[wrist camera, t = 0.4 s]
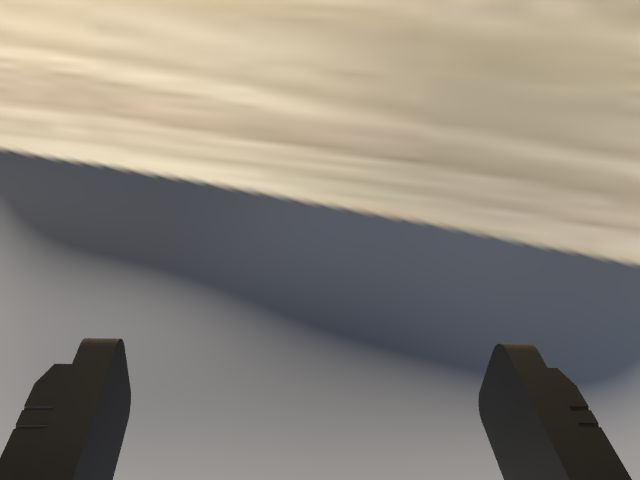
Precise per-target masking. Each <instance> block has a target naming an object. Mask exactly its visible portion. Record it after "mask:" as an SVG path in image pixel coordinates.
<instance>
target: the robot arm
mask: <svg viewBox="0 0 640 480" xmlns="http://www.w3.org/2000/svg"><path fill="white" fill-rule="evenodd" d="M130 404H131V390H130V382H129V376H128V368H127V361H126V354H125V347H124V342H123V340H122V339H92V338H91V339H90V338H88V339H86V338H85V339H83V341H82V342H81V344H80V346H79V348H78V351H77V354H76V356H75V358H74V361H73V363H72V364H54V365H53V366H52V367H51V368H50V369H49V370H48V371H47V372H46V373H45V374H44V375H43V376H42V377H41V378H40V379H39V380H38V381H37V382H36V383H35V384H34V386H33V389H32V391H31V393H30V395H29V397H28V399H27V401H26V403H25V408H24V410H22V412H21V414H20V416H19V419H18V421H17V423H16V429H14V430H13V432H12V434H11V436H10V438H9V440H8V442H7V445H6V447H5V449H4V451H3V453H2V455H1V458H0V480H113V476H114V472H115V468H116V465H117V461H118V457H119V453H120V450H121V446H122V442H123V438H124V434H125V430H126V427H127V422H128V418H129V413H130ZM479 411H480V417H481V420H482V423H483V426H484V428H485V431H486V433H487V436H488V439H489V441H490V444H491V447H492V449H493V451H494V454H495V457H496V460H497V462H498V465H499V468H500V470H501V473H502V475H503V478H504V480H632V479H631V477H630V476H629V474H628V472H627V471H626V469H625V467H624V466H623V464H622V462H621V461H620V459H619V457H618V455H617V454H616V452H615V450H614V449H613V447H612V445H611V444H610V442H609V440H608V438H607V437H606V435H605V433H604V432H603V430H602V428H601V427H599V426H598V422H597V420H596V418H595V417H594V415H593V413H592V412H591V410H589V409H588V405H587V403H586V401H585V400H584V398H583V396H582V395H581V393H580V391H579V390H578V388H577V386H576V385H575V384H574V383H573V382H571V381H570V380H569V379H568V378H567V377H566V376H565V375H564V374H563V373H562V372H561V371H560V370H558V369H557V368H547V366H546V364H545V363H544V361H543V359H542V357H541V355H540V354H539V352H538V350H537V349H536V347H535V346H533V345H531V344H497V345H496V346H495V347H494V350H493V352H492V355H491V358H490V361H489V365H488V368H487V371H486V373H485V377H484V380H483V383H482V386H481V389H480V392H479Z"/></svg>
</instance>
